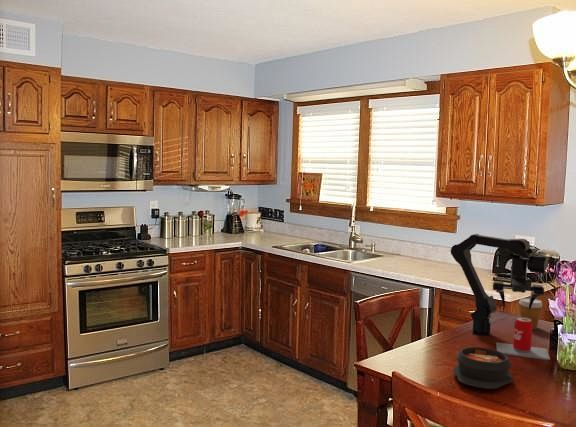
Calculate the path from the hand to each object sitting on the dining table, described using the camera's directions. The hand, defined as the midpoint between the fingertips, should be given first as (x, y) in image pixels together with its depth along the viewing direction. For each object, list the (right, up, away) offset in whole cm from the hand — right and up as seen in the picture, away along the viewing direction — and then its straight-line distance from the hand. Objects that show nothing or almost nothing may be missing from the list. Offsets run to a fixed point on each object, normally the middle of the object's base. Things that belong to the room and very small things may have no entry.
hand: (516, 308), depth 217 cm
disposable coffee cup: (+14, -12, +20) cm, 28 cm away
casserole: (-28, -16, -41) cm, 52 cm away
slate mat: (-3, -14, -13) cm, 19 cm away
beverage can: (-3, -14, -12) cm, 19 cm away
